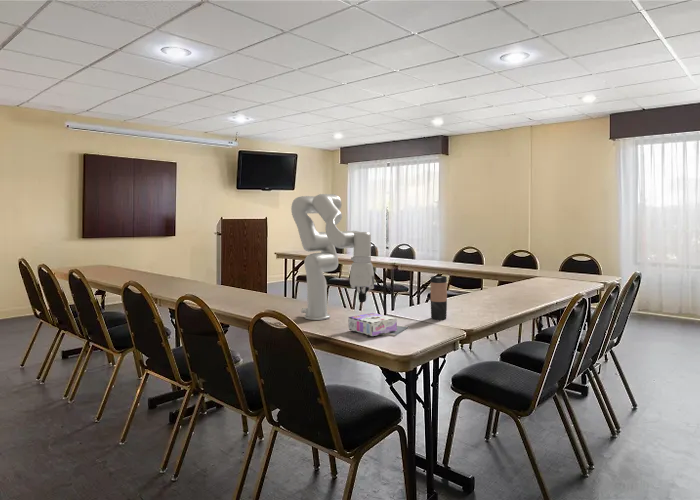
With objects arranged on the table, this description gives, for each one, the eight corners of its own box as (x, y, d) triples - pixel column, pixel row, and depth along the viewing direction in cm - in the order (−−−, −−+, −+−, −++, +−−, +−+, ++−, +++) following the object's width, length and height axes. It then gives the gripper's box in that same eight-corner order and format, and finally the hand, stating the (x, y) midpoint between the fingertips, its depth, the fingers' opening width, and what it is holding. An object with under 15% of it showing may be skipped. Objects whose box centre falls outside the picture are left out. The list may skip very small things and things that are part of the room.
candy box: (348, 330, 215) (371, 336, 201) (347, 316, 214) (371, 322, 201) (373, 325, 223) (397, 331, 209) (373, 312, 222) (397, 317, 209)
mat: (357, 332, 212) (357, 330, 212) (372, 324, 226) (372, 323, 226) (395, 336, 205) (395, 334, 205) (408, 327, 219) (408, 326, 219)
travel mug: (449, 319, 235) (449, 277, 234) (435, 320, 233) (435, 278, 231) (442, 316, 242) (442, 275, 241) (427, 317, 240) (427, 276, 238)
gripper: (343, 260, 217) (343, 302, 219) (374, 261, 211) (374, 304, 212) (350, 258, 224) (350, 299, 226) (381, 260, 218) (381, 301, 219)
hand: (362, 301), depth 219 cm, fingers closed
